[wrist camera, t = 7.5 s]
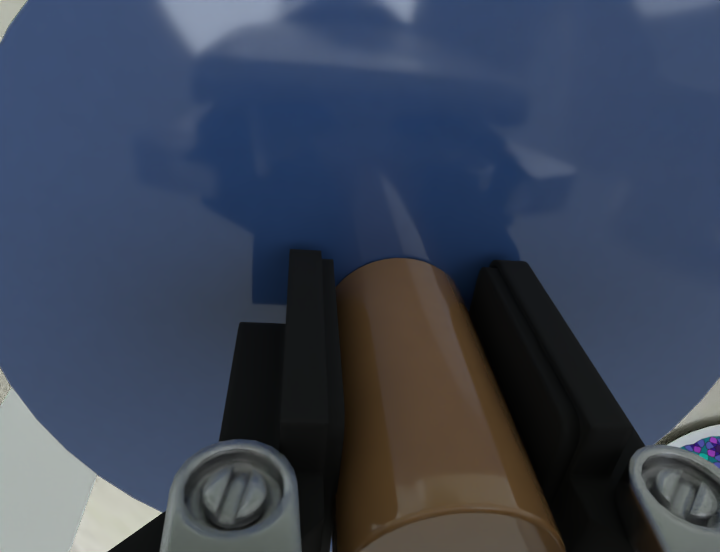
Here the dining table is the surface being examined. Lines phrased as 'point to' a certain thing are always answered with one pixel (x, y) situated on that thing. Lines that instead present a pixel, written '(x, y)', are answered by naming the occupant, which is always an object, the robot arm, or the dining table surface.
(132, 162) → the lid
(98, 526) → the dining table surface
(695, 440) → the pudding
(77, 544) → the dining table surface
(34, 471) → the milk
